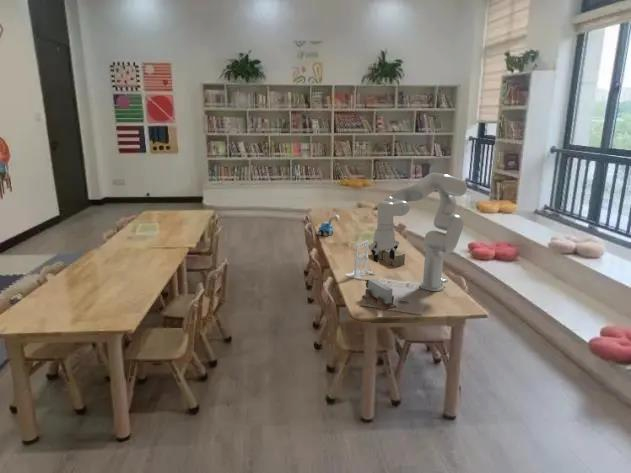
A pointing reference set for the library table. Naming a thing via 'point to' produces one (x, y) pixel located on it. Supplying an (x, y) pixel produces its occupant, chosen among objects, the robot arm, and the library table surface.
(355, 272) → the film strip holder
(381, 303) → the rack
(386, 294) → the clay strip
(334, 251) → the library table surface
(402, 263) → the grey-brown long block
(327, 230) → the toy excavator
